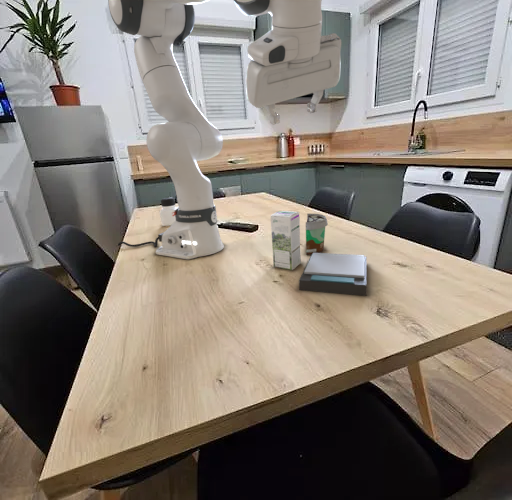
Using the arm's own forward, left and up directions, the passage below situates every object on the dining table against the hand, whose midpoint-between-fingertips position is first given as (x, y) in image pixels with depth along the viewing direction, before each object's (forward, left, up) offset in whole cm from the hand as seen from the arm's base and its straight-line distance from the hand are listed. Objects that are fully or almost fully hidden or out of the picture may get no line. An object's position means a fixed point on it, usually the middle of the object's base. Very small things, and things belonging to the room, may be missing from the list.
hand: (293, 117), depth 64 cm
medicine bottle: (-69, +44, -37) cm, 89 cm away
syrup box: (-4, +3, -37) cm, 37 cm away
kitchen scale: (+9, -2, -36) cm, 38 cm away
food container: (+2, +17, -37) cm, 40 cm away
